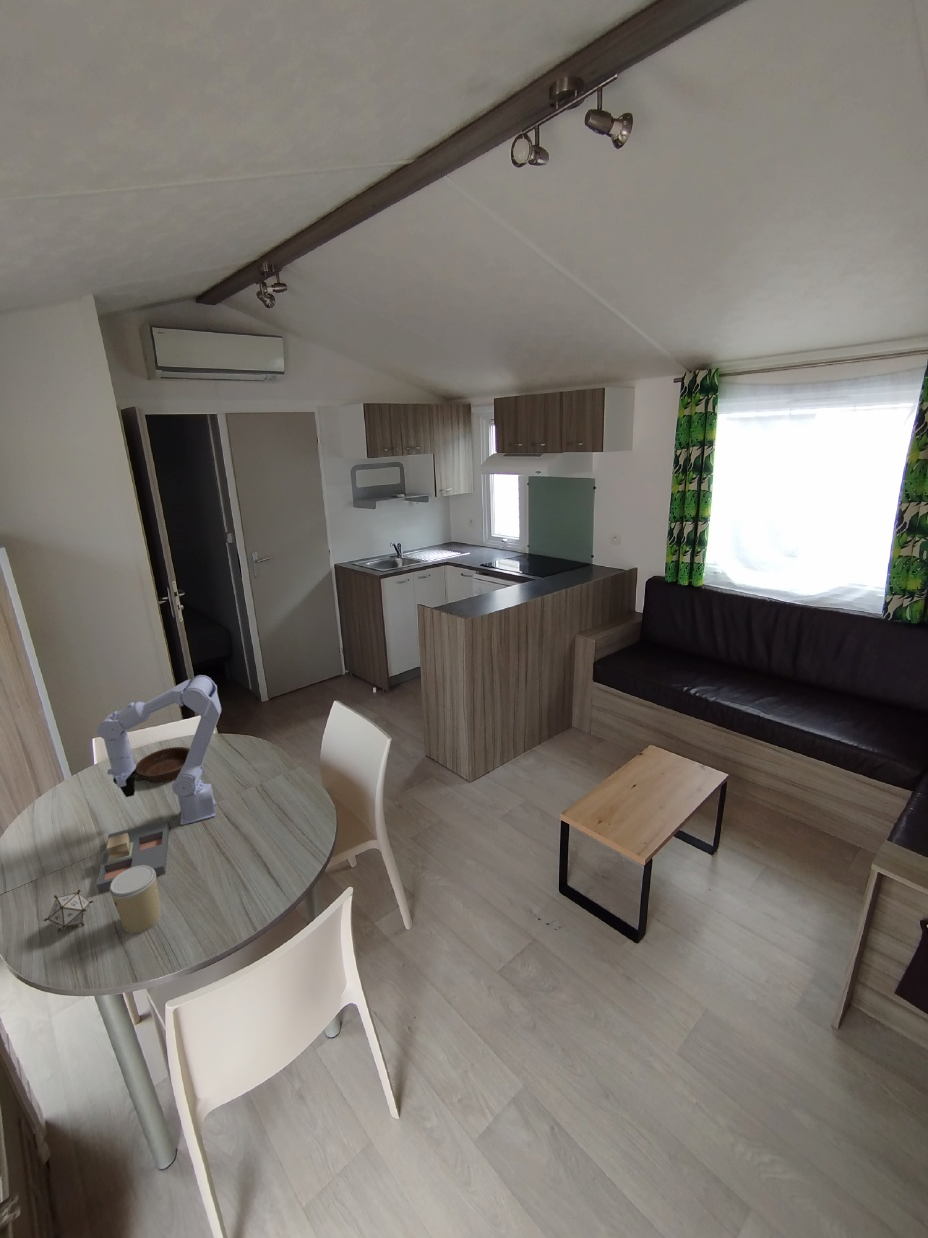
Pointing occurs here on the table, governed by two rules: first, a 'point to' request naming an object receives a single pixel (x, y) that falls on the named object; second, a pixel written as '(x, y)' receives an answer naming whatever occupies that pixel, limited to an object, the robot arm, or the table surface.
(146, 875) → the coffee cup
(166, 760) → the dish
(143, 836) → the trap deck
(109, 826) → the table surface
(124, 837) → the maple block
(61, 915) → the game die
